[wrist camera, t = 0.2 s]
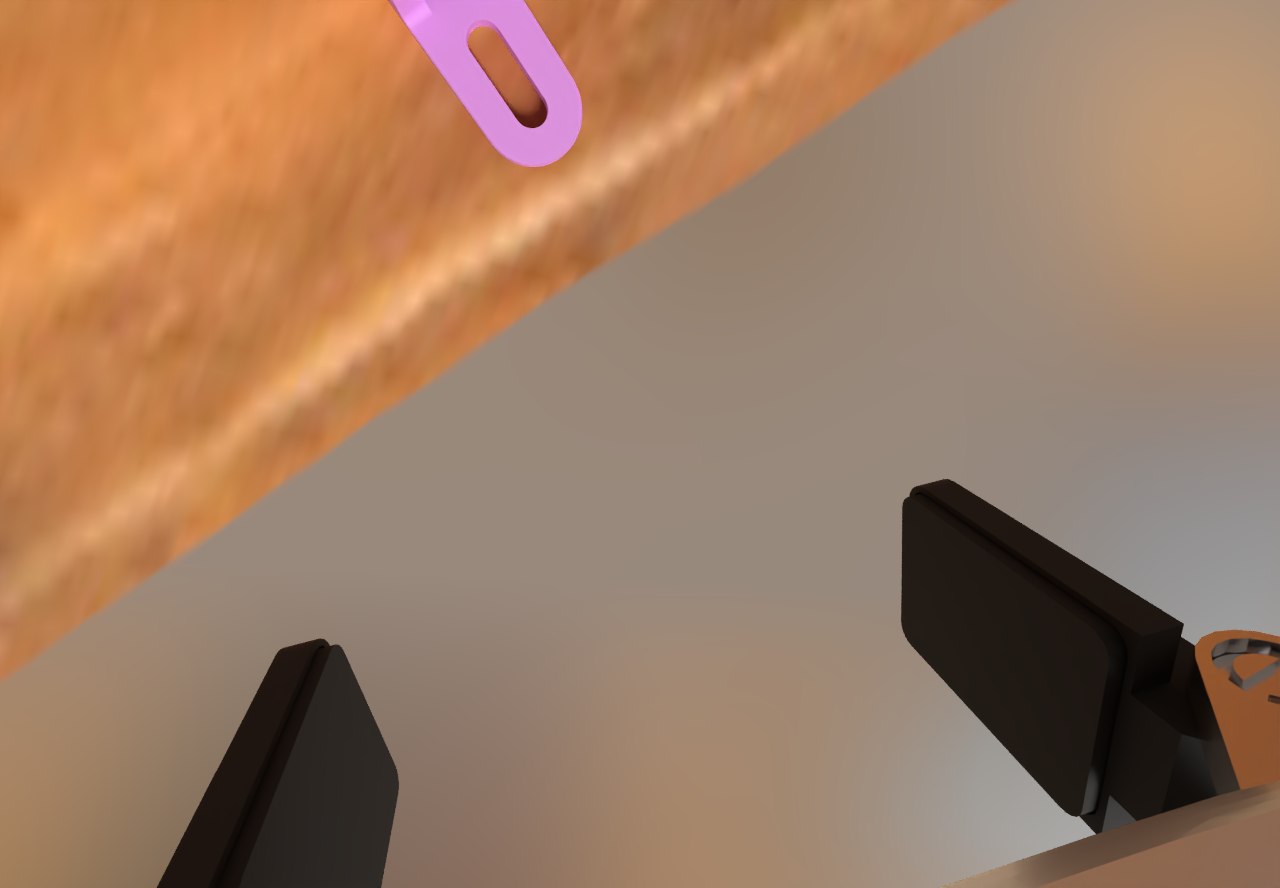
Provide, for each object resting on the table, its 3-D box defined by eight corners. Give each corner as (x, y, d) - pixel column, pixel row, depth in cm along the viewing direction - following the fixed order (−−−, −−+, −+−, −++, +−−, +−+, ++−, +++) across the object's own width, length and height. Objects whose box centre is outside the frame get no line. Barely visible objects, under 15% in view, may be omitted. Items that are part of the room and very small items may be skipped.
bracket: (354, -47, 30) (314, -113, 24) (442, -119, 30) (425, -207, 24) (522, 187, 36) (525, 183, 29) (598, 127, 35) (619, 110, 29)
